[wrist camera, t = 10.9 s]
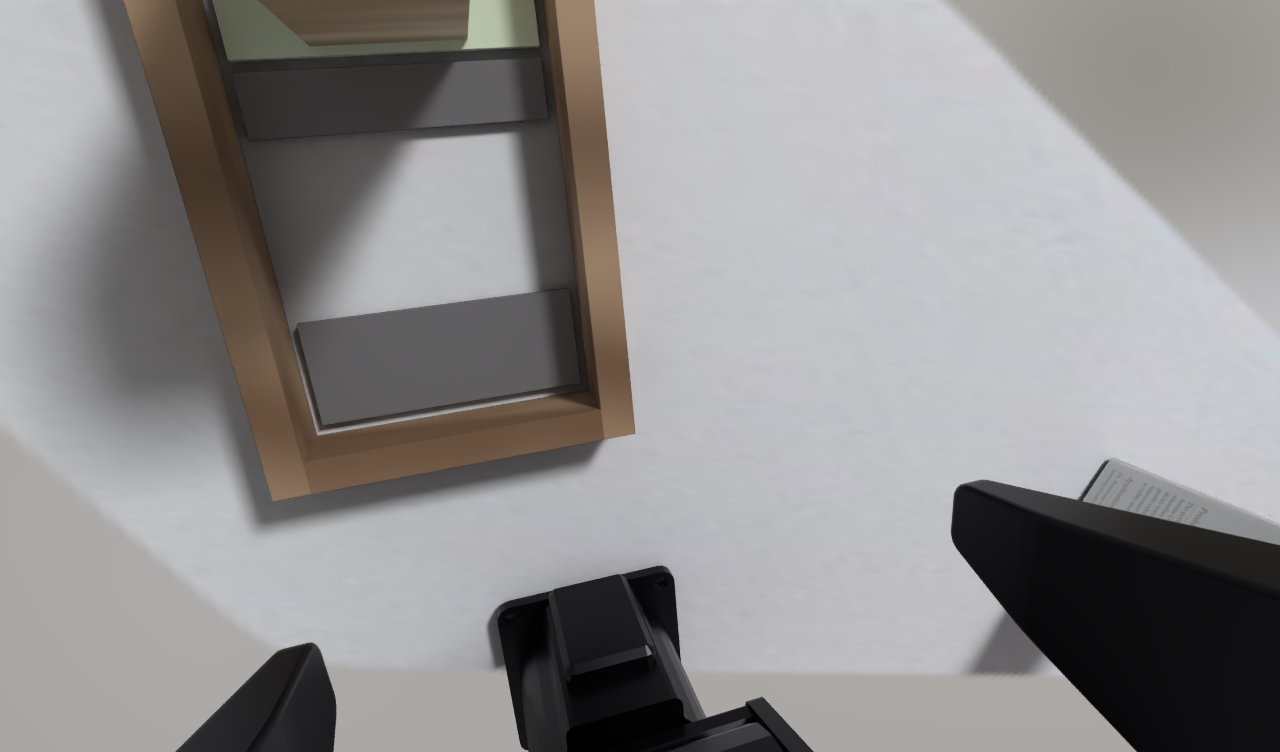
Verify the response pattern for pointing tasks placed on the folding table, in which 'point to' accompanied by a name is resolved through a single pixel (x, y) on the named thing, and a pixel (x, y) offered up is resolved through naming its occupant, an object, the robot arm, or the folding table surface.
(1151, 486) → the skincare box
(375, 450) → the brown rectangular frame
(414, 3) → the maple block
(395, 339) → the pads
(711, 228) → the folding table surface
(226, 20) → the pad
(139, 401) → the folding table surface
